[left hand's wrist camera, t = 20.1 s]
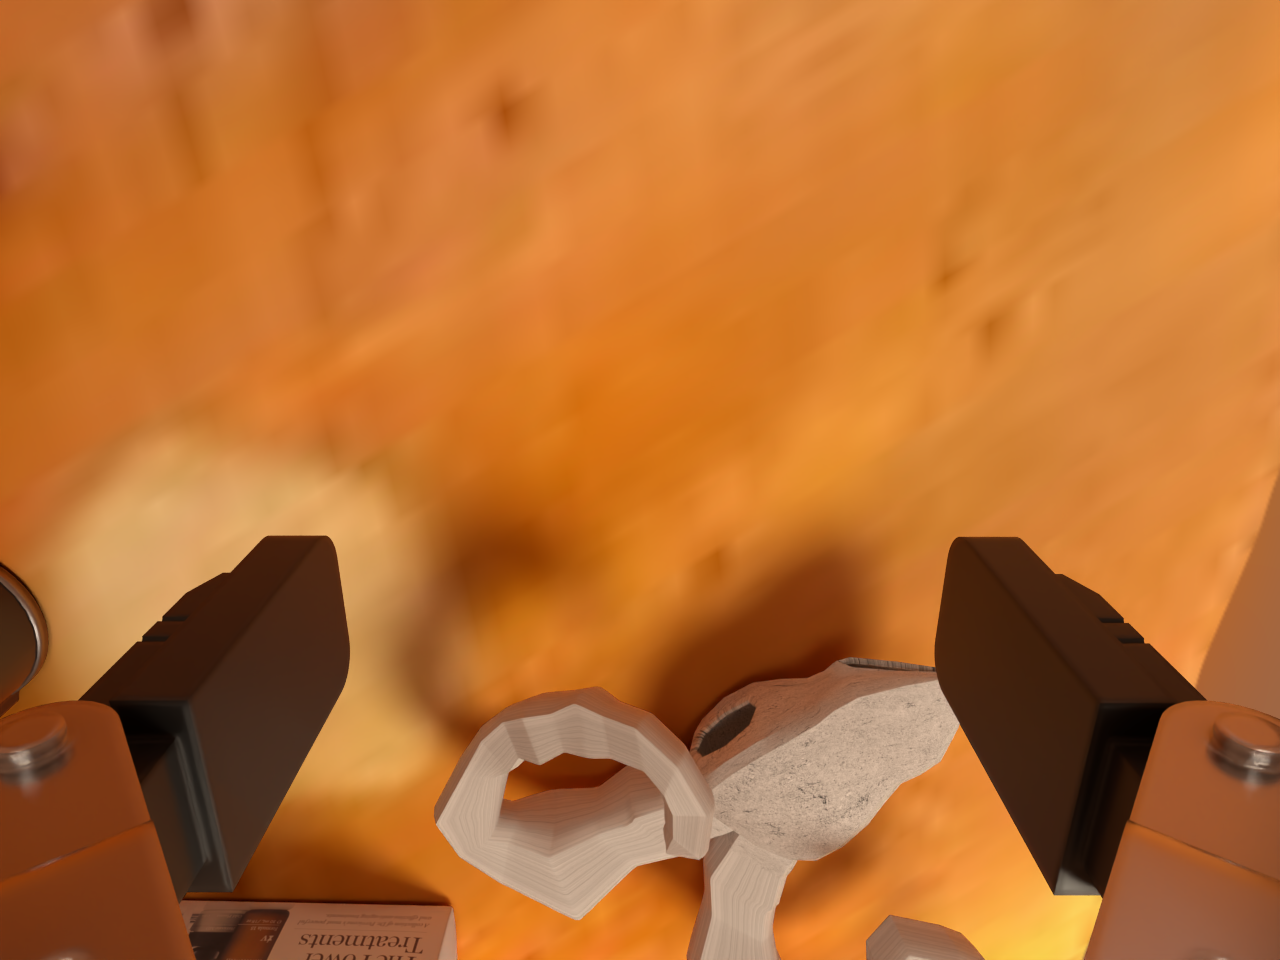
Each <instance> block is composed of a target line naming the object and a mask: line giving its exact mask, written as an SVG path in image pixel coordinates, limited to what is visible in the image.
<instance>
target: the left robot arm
mask: <svg viewBox="0 0 1280 960" xmlns="http://www.w3.org/2000/svg"><path fill="white" fill-rule="evenodd" d="M162 618H163V619H162V621H157V622H156V623H155V624H154V625H153V626H152V627H151V628H150V629H149V630H148V631H147V632H146V633H145V634H144V635H143V636H142V637H143V639H142V642H136V643H135V644H134V645H133V646H132V647H131V648H130V649H129V650H128V651H127V652H126V653H125V654H124V655H123V656H122V657H121V658H120V659H119V660H118V661H117V662H116V663H115V664H114V665H113V666H112V667H111V668H110V669H109V670H108V671H107V672H106V673H105V674H104V675H103V676H102V677H101V678H100V679H99V680H98V681H97V682H96V683H95V684H94V685H93V686H92V687H91V688H90V689H89V690H88V691H87V692H86V693H85V694H84V695H83V696H82V697H81V698H80V699H79V700H78V701H64V702H55V703H50V704H45V705H41V706H37V707H33V708H30V709H26V710H23V711H20V712H18V713H15V714H12V715H9V716H7V717H5V718H2V719H0V960H196V958H195V955H194V952H193V949H192V945H191V942H190V939H189V936H188V932H187V929H186V926H185V923H184V919H183V916H182V913H181V910H180V906H179V904H180V902H181V901H182V899H183V897H184V896H185V894H186V892H233V891H234V889H235V887H236V885H237V883H238V881H239V880H240V878H241V876H242V874H243V872H244V870H245V868H246V867H247V865H248V863H249V861H250V859H251V857H252V856H253V854H254V852H255V850H256V848H257V846H258V845H259V843H260V841H261V839H262V837H263V835H264V834H265V832H266V830H267V828H268V826H269V824H270V823H271V821H272V819H273V817H274V815H275V813H276V811H277V810H278V808H279V806H280V804H281V802H282V800H283V799H284V797H285V795H286V793H287V791H288V789H289V788H290V786H291V784H292V782H293V780H294V778H295V777H296V775H297V773H298V771H299V769H300V767H301V765H302V764H303V762H304V760H305V758H306V756H307V754H308V753H309V751H310V749H311V747H312V745H313V743H314V742H315V740H316V738H317V736H318V734H319V732H320V731H321V729H322V727H323V725H324V723H325V721H326V720H327V718H328V716H329V714H330V712H331V710H332V708H333V707H334V705H335V703H336V701H337V699H338V697H339V696H340V694H341V692H342V690H343V688H344V685H345V682H346V678H347V674H348V669H349V660H350V643H349V635H348V628H347V621H346V614H345V607H344V601H343V594H342V587H341V580H340V573H339V566H338V560H337V554H336V550H335V546H334V544H333V542H332V540H331V539H330V538H329V537H328V536H266V537H265V538H263V539H262V540H261V541H260V542H259V543H258V544H257V545H256V546H255V547H254V549H253V550H252V551H251V552H250V553H249V554H248V555H247V556H246V557H245V558H244V559H243V560H242V561H241V562H240V563H239V564H238V565H237V566H236V567H235V568H234V570H233V571H232V572H231V573H222V574H220V575H218V576H216V577H214V578H213V579H211V580H209V581H207V582H205V583H204V584H202V585H200V586H198V587H196V588H194V589H193V590H191V591H189V592H187V593H186V594H185V595H184V596H183V597H182V598H181V599H180V600H179V601H178V602H177V603H176V604H175V605H174V606H173V607H172V608H171V609H170V610H169V611H168V612H167V613H166V614H165V615H164V616H163V617H162ZM48 643H49V641H48V631H47V626H46V622H45V619H44V617H43V614H42V612H41V610H40V608H39V606H38V604H37V603H36V601H35V600H34V598H33V597H32V595H31V594H30V593H29V591H28V590H27V589H26V588H25V587H24V586H23V585H22V584H21V583H20V582H19V581H18V580H17V579H16V578H15V577H14V576H13V575H12V574H10V573H9V572H8V571H6V570H5V569H4V568H2V567H1V566H0V717H1V716H2V715H3V714H4V713H5V712H6V711H7V710H9V709H10V708H11V707H12V706H13V705H14V704H15V703H16V702H17V701H18V700H19V690H20V689H21V688H23V687H24V686H25V685H26V684H27V683H28V682H29V681H31V680H32V679H33V678H34V677H35V676H36V675H37V673H38V672H39V671H40V669H41V668H42V666H43V664H44V662H45V659H46V656H47V652H48ZM935 667H936V673H937V678H938V682H939V685H940V688H941V690H942V692H943V694H944V696H945V698H946V700H947V702H948V703H949V705H950V707H951V709H952V711H953V713H954V714H955V716H956V718H957V720H958V722H959V723H960V725H961V727H962V729H963V731H964V732H965V734H966V736H967V738H968V740H969V742H970V743H971V745H972V747H973V749H974V751H975V752H976V754H977V756H978V758H979V760H980V762H981V763H982V765H983V767H984V769H985V771H986V772H987V774H988V776H989V778H990V780H991V782H992V783H993V785H994V787H995V789H996V791H997V792H998V794H999V796H1000V798H1001V800H1002V802H1003V803H1004V805H1005V807H1006V809H1007V811H1008V812H1009V814H1010V816H1011V818H1012V820H1013V822H1014V823H1015V825H1016V827H1017V829H1018V831H1019V832H1020V834H1021V836H1022V838H1023V840H1024V842H1025V843H1026V845H1027V847H1028V849H1029V851H1030V852H1031V854H1032V856H1033V858H1034V860H1035V861H1036V863H1037V865H1038V867H1039V869H1040V871H1041V872H1042V874H1043V876H1044V878H1045V880H1046V881H1047V883H1048V885H1049V887H1050V889H1051V891H1052V892H1053V894H1054V895H1101V897H1102V898H1103V900H1102V903H1101V906H1100V910H1099V913H1098V916H1097V919H1096V923H1095V926H1094V929H1093V932H1092V936H1091V939H1090V942H1089V945H1088V949H1087V952H1086V955H1085V958H1084V960H1280V719H1278V718H1275V717H1273V716H1271V715H1268V714H1265V713H1262V712H1260V711H1257V710H1254V709H1250V708H1247V707H1243V706H1239V705H1234V704H1230V703H1225V702H1216V701H1207V700H1206V699H1205V698H1204V697H1203V696H1202V695H1201V694H1200V693H1199V692H1198V691H1197V690H1196V689H1195V688H1194V687H1193V686H1192V685H1191V684H1190V683H1189V682H1188V681H1187V680H1186V679H1185V678H1184V677H1183V676H1182V675H1181V674H1180V673H1179V672H1178V671H1177V670H1176V669H1175V668H1174V667H1173V666H1172V665H1171V664H1170V663H1169V662H1168V661H1167V660H1166V659H1165V658H1164V657H1162V656H1161V655H1160V654H1159V653H1158V652H1157V651H1156V650H1155V649H1154V648H1153V647H1152V646H1151V645H1150V644H1145V643H1144V638H1143V637H1142V636H1141V635H1140V634H1139V633H1138V632H1137V631H1136V630H1135V629H1134V628H1133V627H1132V626H1131V625H1130V624H1129V623H1124V618H1123V617H1122V616H1121V615H1120V614H1119V613H1118V612H1117V611H1116V610H1115V609H1114V608H1113V607H1112V606H1111V605H1110V604H1109V603H1108V602H1107V601H1106V600H1105V599H1103V598H1102V597H1101V596H1100V595H1099V594H1098V593H1096V592H1094V591H1092V590H1090V589H1088V588H1087V587H1085V586H1083V585H1081V584H1079V583H1077V582H1076V581H1074V580H1072V579H1070V578H1068V577H1067V576H1065V575H1063V574H1055V573H1054V572H1053V571H1052V570H1051V569H1050V568H1049V567H1048V566H1047V565H1046V564H1045V563H1044V562H1043V561H1042V560H1041V559H1040V558H1039V557H1038V556H1037V555H1036V554H1035V553H1034V552H1033V551H1032V550H1031V549H1030V547H1029V546H1028V545H1027V544H1026V543H1025V542H1024V541H1023V540H1021V539H1020V538H1018V537H958V538H956V539H955V540H954V541H953V543H952V545H951V547H950V550H949V553H948V559H947V565H946V572H945V579H944V585H943V592H942V599H941V606H940V612H939V619H938V626H937V633H936V639H935Z"/></svg>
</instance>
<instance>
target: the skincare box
mask: <svg viewBox="0 0 1280 960" xmlns="http://www.w3.org/2000/svg"><path fill="white" fill-rule="evenodd" d="M179 906H180V910H181V913H182V916H183V919H184V923H185V926H186V929H187V932H188V936H189V939H190V942H191V945H192V949H193V952H194V955H195V958H196V960H457V941H456V927H455V919H454V912H453V908H452V907H451V906H422V905H377V904H332V903H291V902H237V901H190V900H182V901H181V902H180V904H179Z"/></svg>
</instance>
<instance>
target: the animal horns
mask: <svg viewBox="0 0 1280 960" xmlns="http://www.w3.org/2000/svg"><path fill="white" fill-rule="evenodd" d="M959 724H960V723H959V722H958V720H957V718H956V716H955V714H954V713H953V711H952V709H951V707H950V705H949V703H948V702H947V700H946V698H945V696H944V694H943V692H942V690H941V688H940V685H939V682H938V678H937V673H936V667H929V666H922V665H915V664H908V663H902V662H894V661H884V660H874V659H864V658H854V657H849V658H845V659H842V660H838V661H836V662H834V663H833V664H832V665H830V666H829V667H828V668H827V669H826V670H824V671H823V672H820V673H818V674H816V675H813V676H811V677H808V678H790V679H777V680H769V681H761V682H754V683H751V684H749V685H747V686H745V687H743V688H741V689H740V690H738V691H736V692H734V693H732V694H730V695H728V696H726V697H724V698H723V699H722V700H721V701H720V702H719V703H718V704H717V705H716V706H715V707H714V708H713V709H712V710H711V711H710V712H709V713H708V714H707V715H706V716H705V717H704V718H703V719H702V720H701V722H700V724H699V725H698V727H697V729H696V731H695V732H694V736H693V740H692V744H691V748H690V752H689V751H688V749H687V748H686V746H685V744H684V743H683V742H682V741H681V740H680V739H679V738H678V737H677V736H675V735H674V734H673V733H672V732H671V731H670V730H669V729H668V728H667V727H666V726H665V725H664V724H663V723H662V722H661V721H660V720H659V719H658V718H657V717H656V716H655V715H654V714H652V713H650V712H648V711H645V710H642V709H639V708H637V707H634V706H631V705H628V704H625V703H623V702H620V701H619V700H618V699H616V698H615V697H614V696H612V695H611V694H610V693H608V692H607V691H606V690H604V689H603V688H601V687H590V688H584V689H578V690H570V691H558V692H548V693H542V694H540V695H537V696H534V697H531V698H528V699H526V700H523V701H521V702H518V703H515V704H513V705H511V706H509V707H507V708H505V709H504V710H503V711H501V712H500V713H499V714H497V715H496V716H495V717H493V718H492V719H490V720H489V721H488V722H486V723H485V724H484V725H483V726H482V727H481V728H480V730H479V731H478V733H477V734H476V735H475V737H474V738H473V740H472V741H471V743H470V744H469V746H468V747H467V748H466V750H465V751H464V753H463V754H462V756H461V758H460V759H459V761H458V763H457V765H456V767H455V769H454V771H453V773H452V775H451V777H450V778H449V780H448V782H447V784H446V786H445V788H444V790H443V792H442V794H441V796H440V797H439V799H438V801H437V803H436V805H435V810H434V818H435V822H436V825H437V827H438V828H439V829H440V831H441V832H442V833H443V835H444V836H445V838H446V839H447V840H448V842H449V843H450V845H451V846H452V847H453V849H454V850H455V851H456V853H457V854H458V856H459V857H460V858H462V859H464V860H465V861H467V862H468V863H470V864H471V865H473V866H474V867H476V868H478V869H479V870H481V871H482V872H484V873H485V874H487V875H489V876H490V877H492V878H493V879H495V880H496V881H498V882H499V883H501V884H503V885H506V886H508V887H510V888H512V889H514V890H516V891H518V892H520V893H522V894H524V895H526V896H528V897H530V898H532V899H534V900H536V901H538V902H540V903H542V904H544V905H546V906H548V907H550V908H552V909H554V910H556V911H558V912H560V913H562V914H564V915H566V916H568V917H570V918H572V919H575V920H580V919H581V918H582V917H584V916H585V915H586V914H587V913H588V912H589V911H590V910H591V909H592V908H593V907H594V906H595V905H596V904H597V903H598V902H599V901H600V900H601V899H602V898H603V897H604V896H605V895H607V894H608V893H609V892H610V891H611V890H612V889H613V888H614V887H615V886H616V885H617V884H618V883H619V882H620V881H621V880H622V879H623V878H624V877H625V876H626V875H627V874H628V873H629V872H631V871H632V870H633V869H634V868H635V867H637V866H640V865H643V864H648V863H652V862H656V861H661V860H665V859H670V858H674V857H679V856H680V857H686V858H691V859H697V860H700V859H701V858H703V868H704V895H703V899H702V902H701V906H700V909H699V912H698V915H697V919H696V922H695V925H694V928H693V932H692V936H691V939H690V943H689V947H688V952H687V960H781V958H780V956H779V954H778V951H777V949H776V946H775V940H774V934H773V921H774V914H775V909H776V906H777V905H778V904H779V901H780V898H781V895H782V892H783V888H784V885H785V881H786V878H787V875H788V874H789V873H790V872H791V871H792V869H793V868H794V866H795V864H796V862H797V860H812V861H817V860H818V859H820V858H822V857H824V856H826V855H828V854H830V853H832V852H834V851H836V850H838V849H840V848H841V847H843V846H844V845H846V844H847V843H848V842H849V841H850V840H851V839H852V838H853V837H855V836H856V835H857V834H858V833H859V832H860V831H861V830H862V829H863V828H865V827H866V826H867V825H868V824H869V823H870V821H871V820H872V819H873V817H874V816H875V815H876V813H877V812H878V811H879V810H880V808H881V807H882V806H883V804H884V803H885V802H886V801H887V799H888V798H889V797H890V796H891V795H892V794H893V792H894V791H895V790H896V789H897V788H898V787H899V785H900V784H901V783H903V782H905V781H908V780H910V779H912V778H914V777H916V776H919V775H921V774H922V773H924V772H925V771H927V770H928V769H930V768H931V767H933V766H934V765H936V764H937V763H939V762H940V761H941V760H942V758H943V756H944V754H945V752H946V750H947V748H948V746H949V744H950V742H951V741H952V739H953V737H954V735H955V733H956V731H957V729H958V727H959ZM562 753H569V754H573V755H577V756H581V757H586V758H609V759H613V760H616V761H618V762H621V763H623V764H626V765H627V766H625V767H624V768H623V769H621V770H620V771H619V772H617V773H616V774H615V775H614V776H612V777H611V778H610V779H608V780H607V781H606V782H604V783H603V784H602V785H600V786H598V787H592V788H566V789H555V790H548V791H544V792H541V793H537V794H534V795H531V796H528V797H525V798H522V799H518V800H515V801H510V800H507V799H503V796H504V791H505V786H506V782H507V778H508V774H509V772H510V771H511V770H513V769H515V768H517V767H518V766H519V765H520V764H521V763H522V762H523V761H524V760H526V761H528V762H531V763H534V764H537V765H541V764H543V763H545V762H547V761H549V760H551V759H553V758H555V757H556V756H558V755H560V754H562ZM866 958H867V960H985V959H984V958H983V957H982V956H981V954H980V953H979V952H978V951H977V949H976V948H975V947H974V946H973V945H972V944H971V943H970V942H969V941H968V940H967V939H966V938H965V936H963V935H962V934H961V933H959V932H957V931H954V930H951V929H949V928H946V927H944V926H941V925H937V924H932V923H927V922H922V921H917V920H913V919H908V918H903V917H898V916H893V915H889V916H888V917H887V918H886V919H885V921H884V922H883V923H882V924H881V925H880V926H879V927H878V928H877V929H876V930H875V932H874V933H873V934H872V935H871V936H870V937H869V938H868V939H867V940H866Z"/></svg>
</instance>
